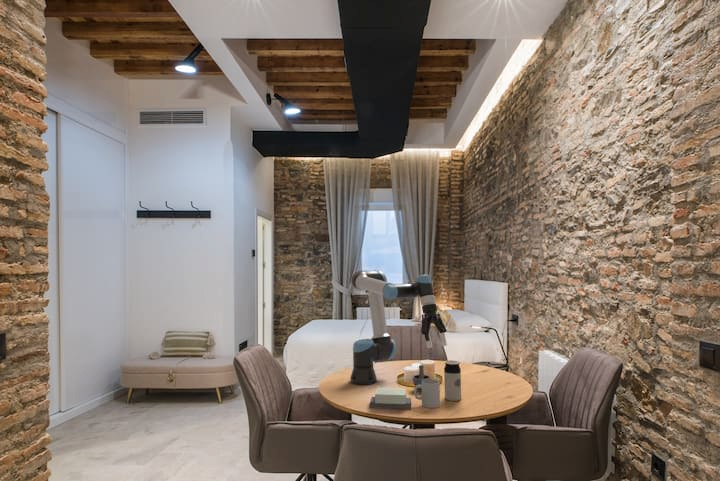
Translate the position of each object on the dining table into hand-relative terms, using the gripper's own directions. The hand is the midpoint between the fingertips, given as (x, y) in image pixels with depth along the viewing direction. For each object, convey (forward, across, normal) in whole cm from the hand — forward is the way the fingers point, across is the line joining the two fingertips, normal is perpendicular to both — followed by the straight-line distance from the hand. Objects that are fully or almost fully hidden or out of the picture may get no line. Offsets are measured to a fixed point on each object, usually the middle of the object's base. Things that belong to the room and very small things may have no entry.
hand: (437, 346), depth 202 cm
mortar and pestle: (+20, +10, +21) cm, 31 cm away
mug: (+26, -10, +6) cm, 28 cm away
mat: (+23, -21, +19) cm, 36 cm away
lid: (+21, -21, +18) cm, 34 cm away
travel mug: (+26, +7, +2) cm, 27 cm away
